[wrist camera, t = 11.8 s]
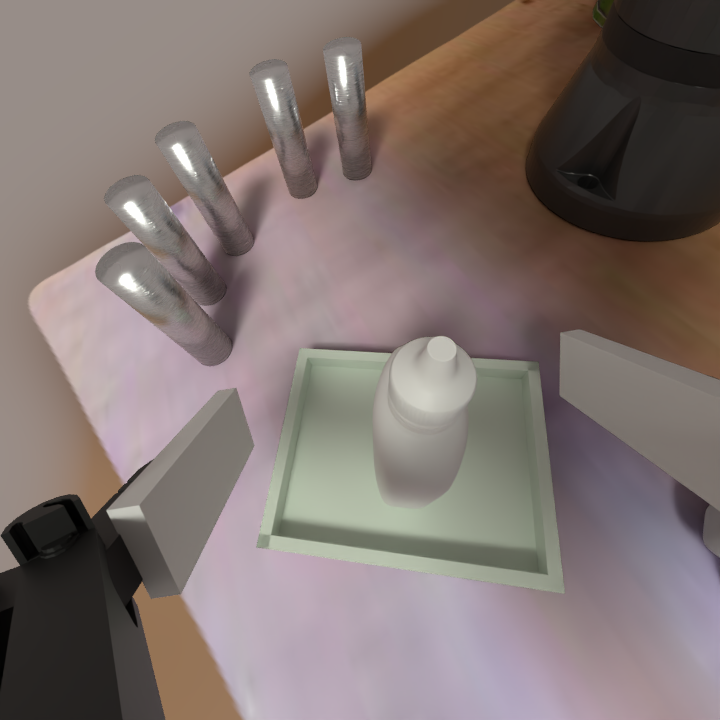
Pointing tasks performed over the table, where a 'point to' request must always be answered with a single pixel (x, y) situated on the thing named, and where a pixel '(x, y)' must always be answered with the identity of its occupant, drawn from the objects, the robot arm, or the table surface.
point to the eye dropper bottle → (421, 420)
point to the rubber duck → (712, 530)
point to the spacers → (222, 203)
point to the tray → (436, 520)
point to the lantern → (601, 11)
